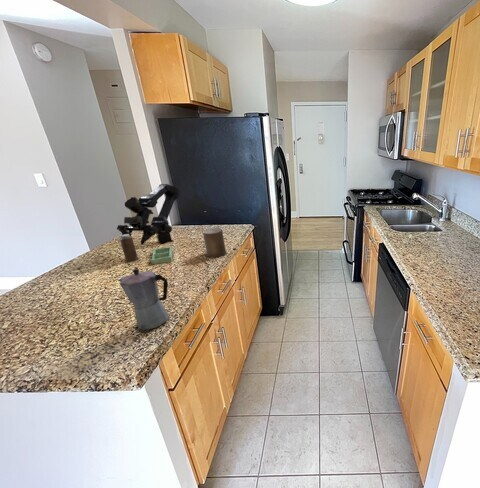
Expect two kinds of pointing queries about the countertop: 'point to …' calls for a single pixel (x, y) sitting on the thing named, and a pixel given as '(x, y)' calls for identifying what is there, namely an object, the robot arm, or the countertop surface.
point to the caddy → (162, 255)
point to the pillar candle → (214, 242)
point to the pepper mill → (128, 248)
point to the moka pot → (146, 298)
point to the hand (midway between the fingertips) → (132, 244)
